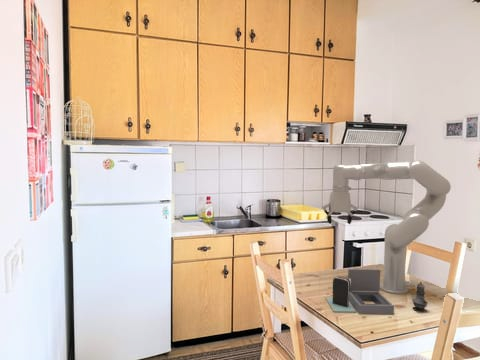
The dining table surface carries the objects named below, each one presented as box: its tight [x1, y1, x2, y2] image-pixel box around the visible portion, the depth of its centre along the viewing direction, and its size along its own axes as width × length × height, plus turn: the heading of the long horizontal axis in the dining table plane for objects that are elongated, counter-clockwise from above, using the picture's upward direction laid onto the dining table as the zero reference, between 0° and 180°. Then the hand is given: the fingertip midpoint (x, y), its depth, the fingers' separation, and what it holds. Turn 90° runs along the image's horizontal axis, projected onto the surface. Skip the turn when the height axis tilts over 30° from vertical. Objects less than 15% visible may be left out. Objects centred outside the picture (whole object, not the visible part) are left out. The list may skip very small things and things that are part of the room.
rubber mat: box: [325, 297, 357, 314], centre depth 151 cm, size 9×14×1 cm, turn 0°
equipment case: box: [347, 268, 395, 315], centre depth 151 cm, size 14×16×14 cm
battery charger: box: [332, 276, 350, 307], centre depth 151 cm, size 7×4×11 cm, turn 51°
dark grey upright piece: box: [411, 281, 429, 313], centre depth 147 cm, size 6×6×12 cm
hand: (339, 223), depth 177 cm, fingers open, 9 cm apart
